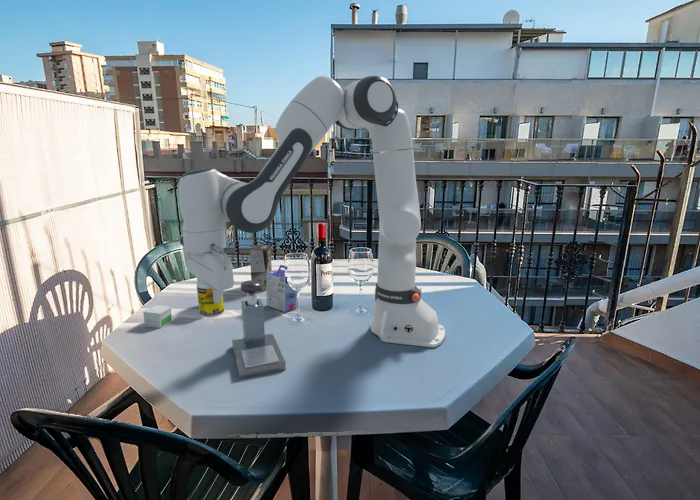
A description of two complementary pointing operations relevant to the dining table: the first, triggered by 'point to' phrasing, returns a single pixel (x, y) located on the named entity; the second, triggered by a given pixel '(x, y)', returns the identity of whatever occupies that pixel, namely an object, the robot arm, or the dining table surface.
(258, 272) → the coffee box
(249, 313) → the press
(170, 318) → the small box
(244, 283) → the ram
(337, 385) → the dining table surface
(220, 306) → the supplement bottle
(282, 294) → the ink cartridge box
